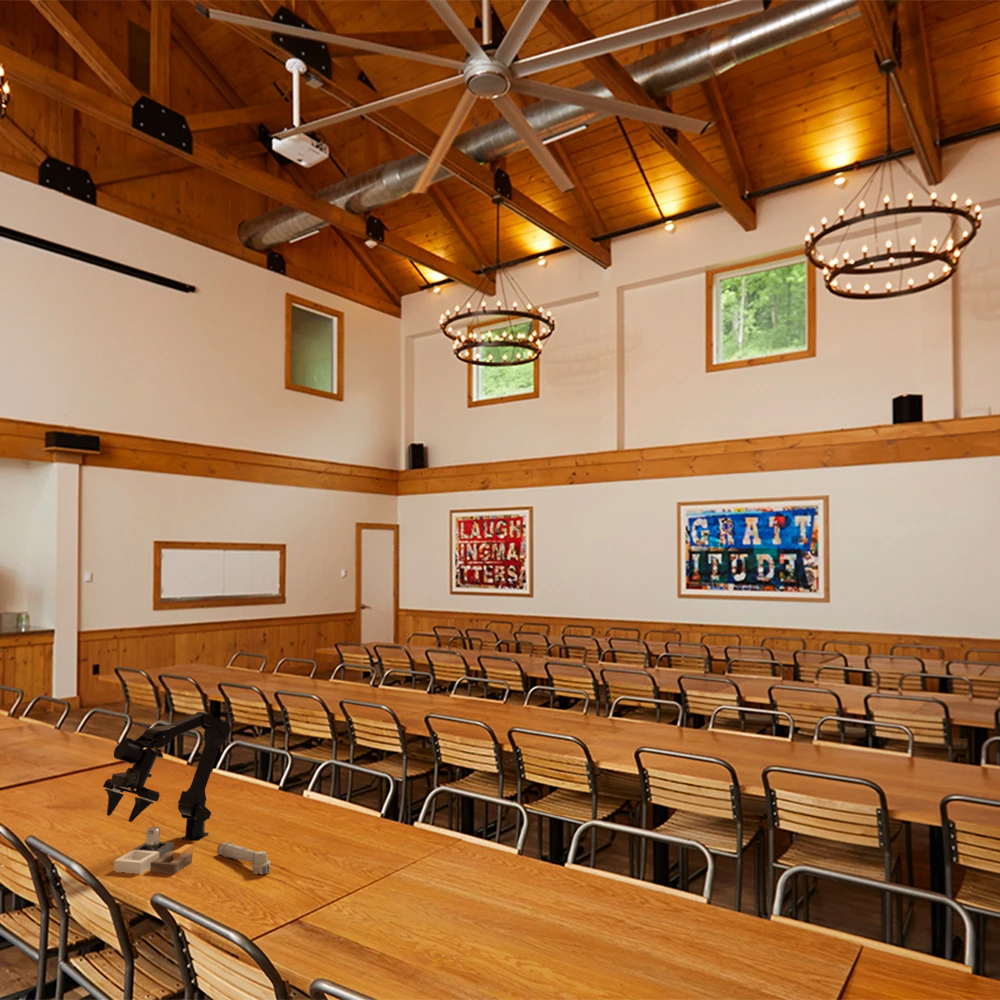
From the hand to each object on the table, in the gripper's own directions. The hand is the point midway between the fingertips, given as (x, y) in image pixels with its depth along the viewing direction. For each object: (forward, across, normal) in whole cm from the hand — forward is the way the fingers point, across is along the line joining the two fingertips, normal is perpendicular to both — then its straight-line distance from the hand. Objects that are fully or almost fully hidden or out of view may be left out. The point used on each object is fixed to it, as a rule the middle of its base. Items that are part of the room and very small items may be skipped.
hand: (118, 818), depth 240 cm
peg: (+7, +4, +16) cm, 18 cm away
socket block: (+7, +4, +16) cm, 18 cm away
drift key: (+6, +17, +16) cm, 24 cm away
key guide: (+9, +18, +11) cm, 23 cm away
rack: (+12, +8, +7) cm, 16 cm away
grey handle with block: (+3, +36, +20) cm, 41 cm away
